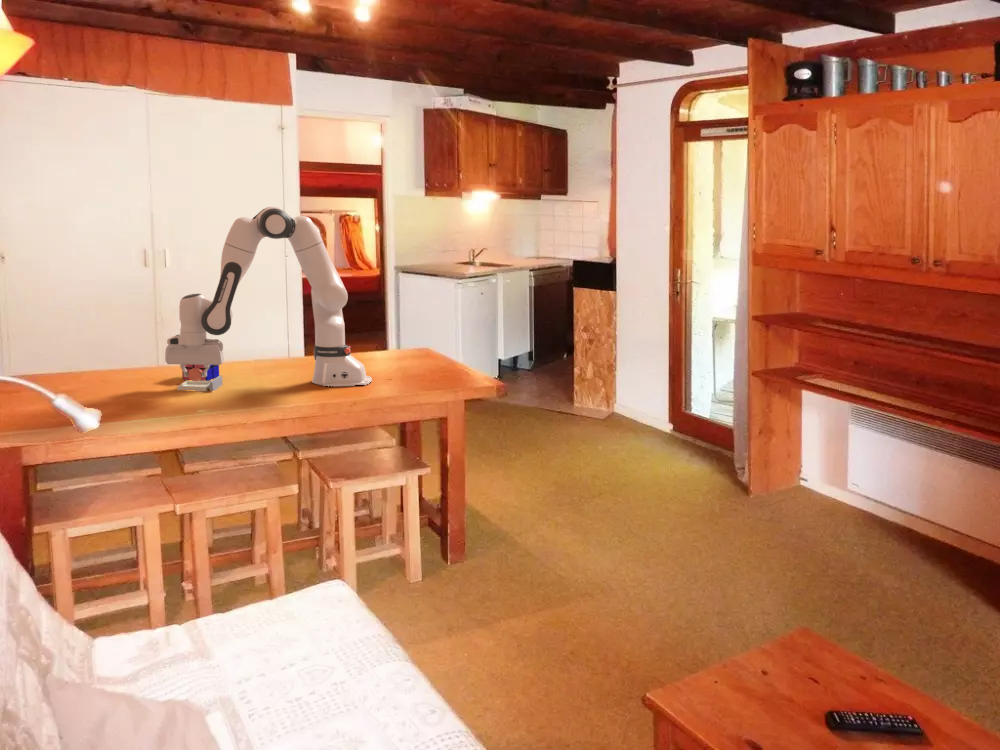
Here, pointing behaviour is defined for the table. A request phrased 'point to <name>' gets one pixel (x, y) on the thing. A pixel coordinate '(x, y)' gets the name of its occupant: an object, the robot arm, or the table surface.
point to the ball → (195, 374)
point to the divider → (216, 383)
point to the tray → (194, 385)
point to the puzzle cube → (211, 372)
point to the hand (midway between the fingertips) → (195, 376)
